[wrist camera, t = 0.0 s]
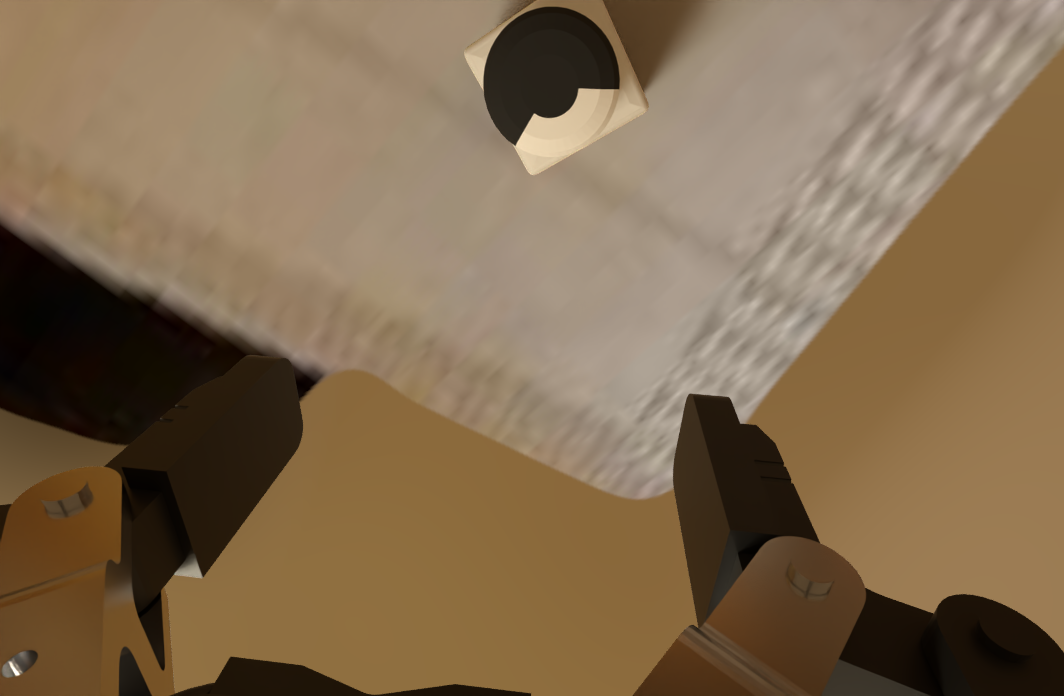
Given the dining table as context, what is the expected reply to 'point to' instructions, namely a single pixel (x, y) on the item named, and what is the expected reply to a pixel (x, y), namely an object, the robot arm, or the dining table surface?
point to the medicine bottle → (556, 79)
